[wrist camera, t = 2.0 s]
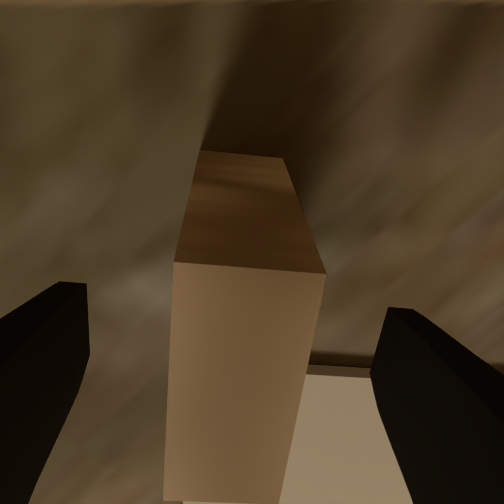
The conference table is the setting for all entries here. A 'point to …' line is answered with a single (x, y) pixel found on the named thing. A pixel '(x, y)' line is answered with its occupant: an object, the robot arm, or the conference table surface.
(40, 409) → the robot arm
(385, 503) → the mat
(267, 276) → the wooden block
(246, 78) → the conference table surface
